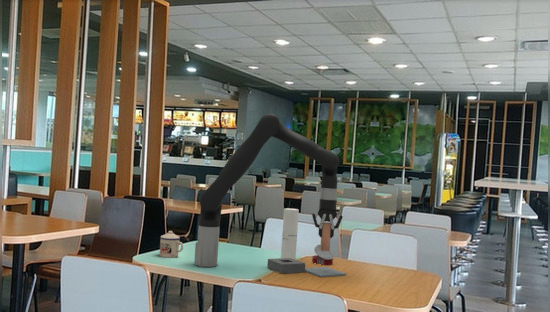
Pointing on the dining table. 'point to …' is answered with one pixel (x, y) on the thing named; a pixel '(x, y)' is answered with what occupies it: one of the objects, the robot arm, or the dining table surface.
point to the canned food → (322, 256)
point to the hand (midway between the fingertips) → (325, 237)
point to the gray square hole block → (286, 265)
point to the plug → (326, 236)
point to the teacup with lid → (170, 245)
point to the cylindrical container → (289, 233)
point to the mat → (324, 272)
